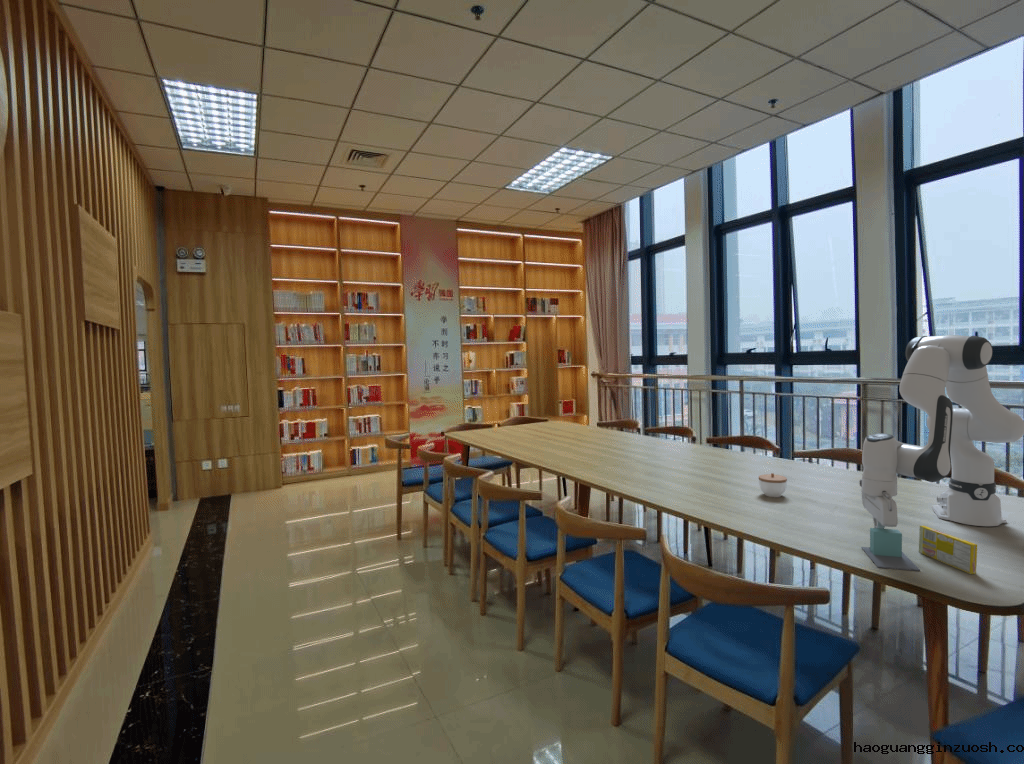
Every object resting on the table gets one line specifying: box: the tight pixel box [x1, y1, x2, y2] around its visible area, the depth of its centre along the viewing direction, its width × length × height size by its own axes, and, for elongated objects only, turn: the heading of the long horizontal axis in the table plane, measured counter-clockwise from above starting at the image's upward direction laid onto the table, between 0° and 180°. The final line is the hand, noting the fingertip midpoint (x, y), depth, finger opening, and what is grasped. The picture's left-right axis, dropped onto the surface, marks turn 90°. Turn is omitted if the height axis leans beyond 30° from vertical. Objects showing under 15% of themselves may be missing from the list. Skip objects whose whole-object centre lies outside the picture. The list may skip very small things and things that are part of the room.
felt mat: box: [861, 546, 921, 572], centre depth 152 cm, size 15×10×1 cm, turn 161°
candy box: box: [918, 525, 978, 575], centre depth 149 cm, size 16×2×8 cm, turn 6°
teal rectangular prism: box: [869, 527, 903, 557], centre depth 155 cm, size 4×7×7 cm, turn 70°
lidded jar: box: [758, 472, 788, 498], centre depth 220 cm, size 11×11×9 cm
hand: (879, 531), depth 160 cm, fingers closed
